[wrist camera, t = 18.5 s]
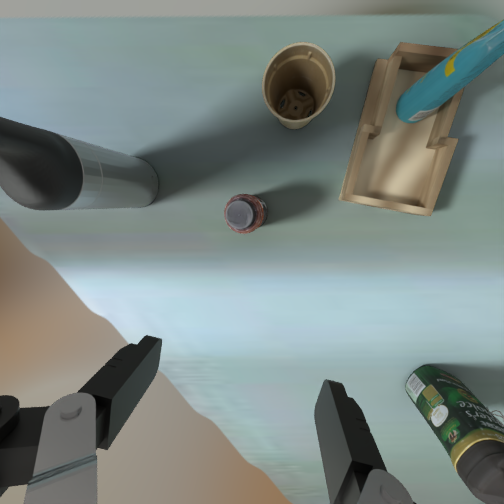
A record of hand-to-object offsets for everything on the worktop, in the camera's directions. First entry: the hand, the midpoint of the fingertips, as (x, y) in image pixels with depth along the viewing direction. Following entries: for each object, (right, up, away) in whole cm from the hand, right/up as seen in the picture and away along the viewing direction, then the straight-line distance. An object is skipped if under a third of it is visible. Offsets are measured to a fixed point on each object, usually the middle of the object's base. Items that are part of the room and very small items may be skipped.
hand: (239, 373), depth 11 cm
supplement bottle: (+1, +13, +33) cm, 35 cm away
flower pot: (+8, +30, +28) cm, 42 cm away
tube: (+25, +28, +25) cm, 45 cm away
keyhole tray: (+24, +23, +27) cm, 43 cm away
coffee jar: (+35, -19, +34) cm, 52 cm away
